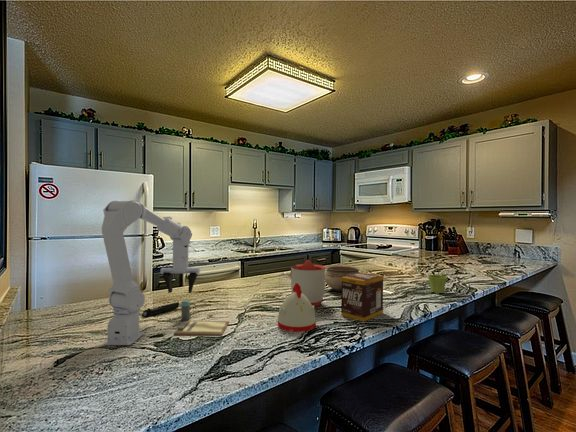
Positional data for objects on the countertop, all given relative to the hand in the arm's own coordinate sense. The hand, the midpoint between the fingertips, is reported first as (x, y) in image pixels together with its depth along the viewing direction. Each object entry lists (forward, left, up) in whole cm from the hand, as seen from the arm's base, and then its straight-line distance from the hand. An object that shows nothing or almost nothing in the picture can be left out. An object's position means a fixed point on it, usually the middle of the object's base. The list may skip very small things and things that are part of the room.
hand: (180, 292), depth 119 cm
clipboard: (-11, -12, -10) cm, 19 cm away
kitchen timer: (-6, -45, -10) cm, 46 cm away
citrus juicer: (+20, -50, -10) cm, 55 cm away
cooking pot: (+45, -71, -10) cm, 84 cm away
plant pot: (+42, -120, -10) cm, 127 cm away
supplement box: (+6, -72, -10) cm, 73 cm away
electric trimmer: (+7, +10, -10) cm, 16 cm away
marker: (-2, -3, -10) cm, 10 cm away
